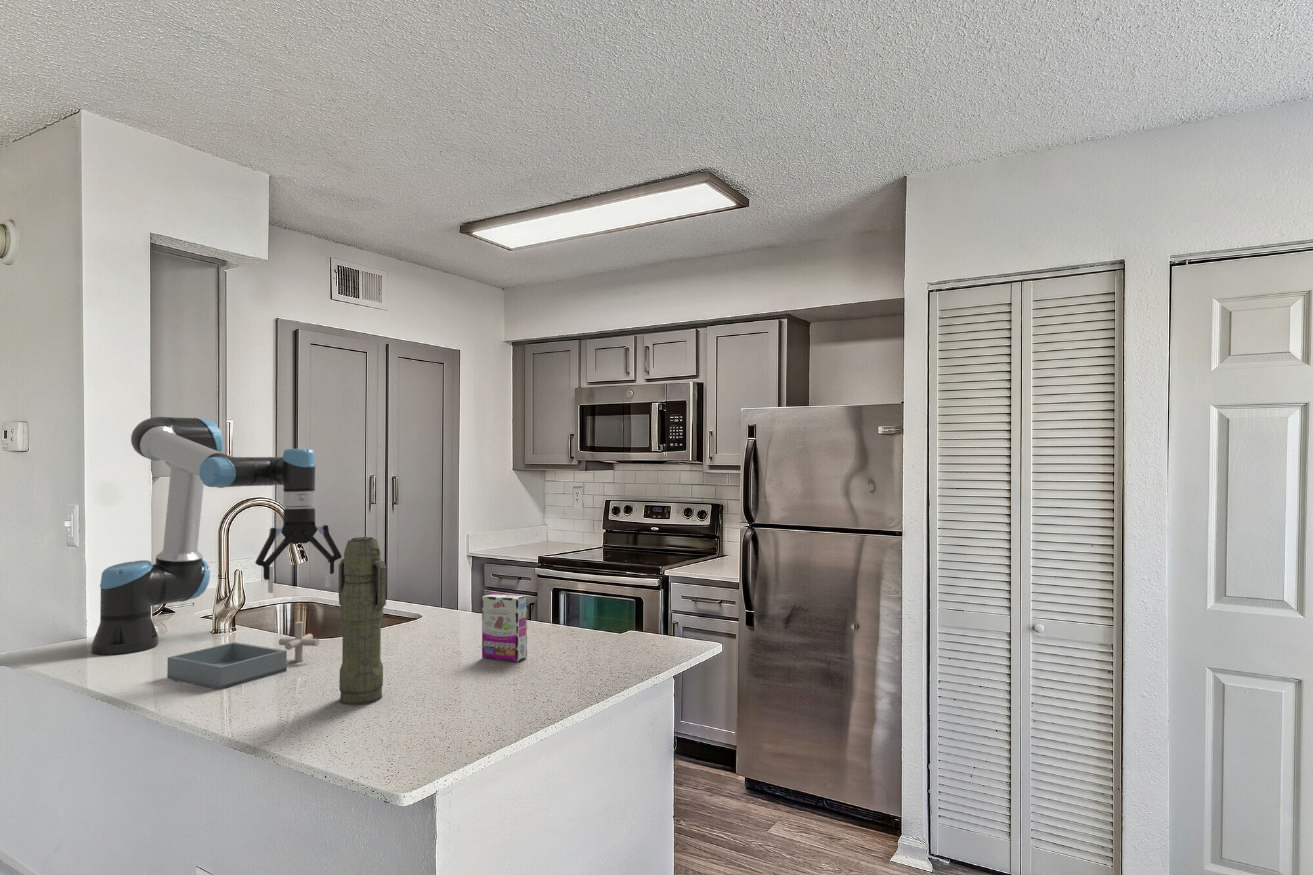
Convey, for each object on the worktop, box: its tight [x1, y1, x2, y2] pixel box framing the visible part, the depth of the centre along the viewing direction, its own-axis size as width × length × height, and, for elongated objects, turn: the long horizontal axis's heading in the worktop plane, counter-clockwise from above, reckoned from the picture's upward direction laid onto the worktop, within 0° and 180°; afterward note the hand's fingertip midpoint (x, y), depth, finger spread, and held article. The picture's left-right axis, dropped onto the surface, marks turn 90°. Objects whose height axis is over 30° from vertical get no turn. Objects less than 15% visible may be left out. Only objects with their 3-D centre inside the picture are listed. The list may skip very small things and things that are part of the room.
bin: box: [166, 641, 288, 690], centre depth 186 cm, size 20×17×5 cm
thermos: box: [338, 536, 388, 706], centre depth 168 cm, size 9×12×35 cm
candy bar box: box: [481, 593, 528, 663], centre depth 201 cm, size 11×5×16 cm, turn 68°
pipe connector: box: [278, 621, 320, 663], centre depth 198 cm, size 10×10×10 cm
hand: (299, 589), depth 199 cm, fingers open, 13 cm apart
